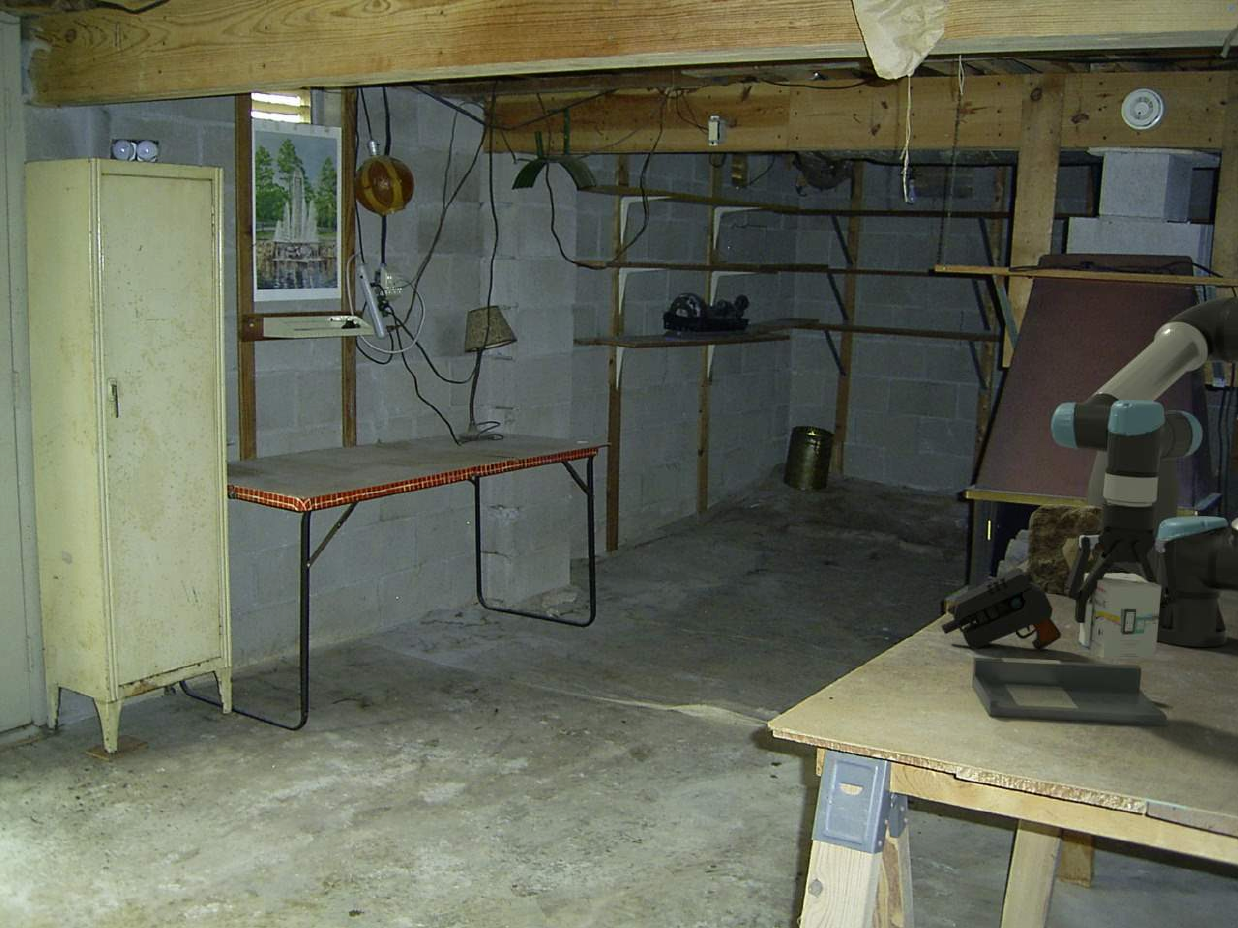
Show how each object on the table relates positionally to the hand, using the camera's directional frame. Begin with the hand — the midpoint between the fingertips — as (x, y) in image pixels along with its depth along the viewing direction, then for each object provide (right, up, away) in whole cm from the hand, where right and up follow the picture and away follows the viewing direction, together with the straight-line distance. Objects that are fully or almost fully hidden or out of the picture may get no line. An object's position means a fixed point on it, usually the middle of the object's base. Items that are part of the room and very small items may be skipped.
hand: (1116, 644), depth 188 cm
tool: (-7, -6, +35) cm, 36 cm away
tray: (-7, -10, +3) cm, 12 cm away
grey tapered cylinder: (+44, +3, +102) cm, 112 cm away
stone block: (+21, 0, +77) cm, 80 cm away
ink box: (0, -1, 0) cm, 1 cm away
